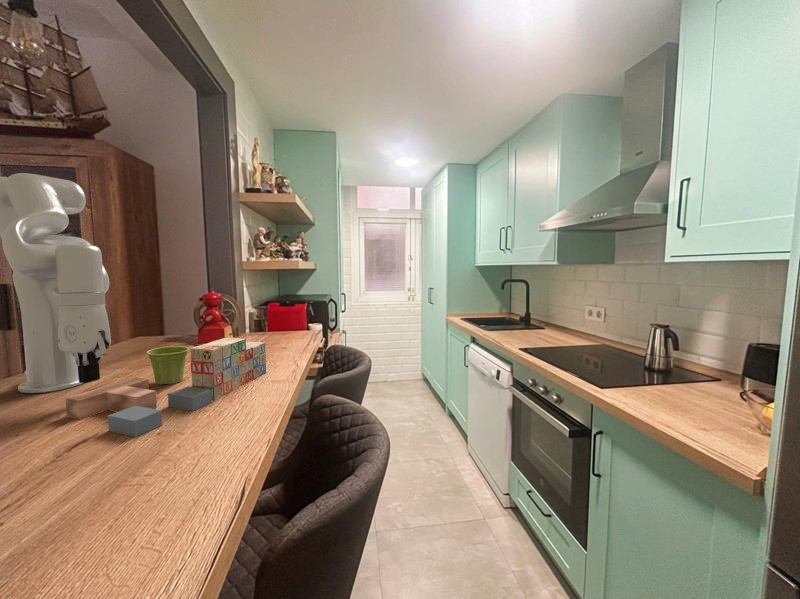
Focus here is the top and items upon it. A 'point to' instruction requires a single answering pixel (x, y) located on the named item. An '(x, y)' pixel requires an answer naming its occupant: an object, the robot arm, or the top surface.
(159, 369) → the plant pot
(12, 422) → the top surface
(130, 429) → the t dock
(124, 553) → the top surface
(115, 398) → the t block
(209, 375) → the stack of blocks
